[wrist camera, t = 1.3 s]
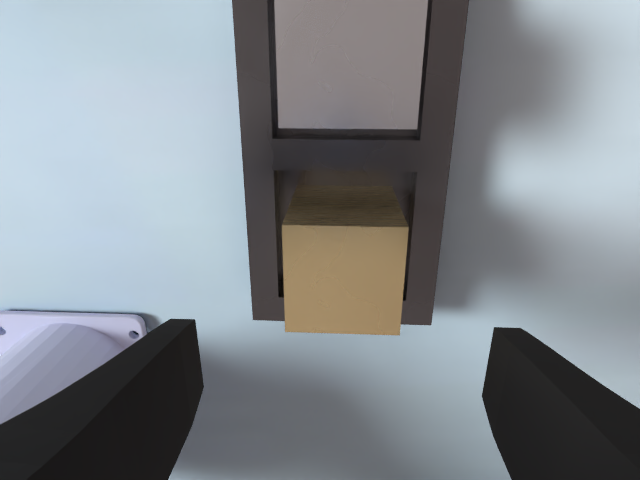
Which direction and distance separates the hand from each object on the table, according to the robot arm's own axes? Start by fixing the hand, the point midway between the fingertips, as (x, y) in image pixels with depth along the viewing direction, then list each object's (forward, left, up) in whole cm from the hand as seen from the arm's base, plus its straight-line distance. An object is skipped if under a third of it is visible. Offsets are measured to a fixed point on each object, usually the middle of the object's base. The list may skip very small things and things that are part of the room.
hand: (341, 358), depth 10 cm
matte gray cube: (+7, 0, -9) cm, 11 cm away
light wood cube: (0, 0, -9) cm, 9 cm away
